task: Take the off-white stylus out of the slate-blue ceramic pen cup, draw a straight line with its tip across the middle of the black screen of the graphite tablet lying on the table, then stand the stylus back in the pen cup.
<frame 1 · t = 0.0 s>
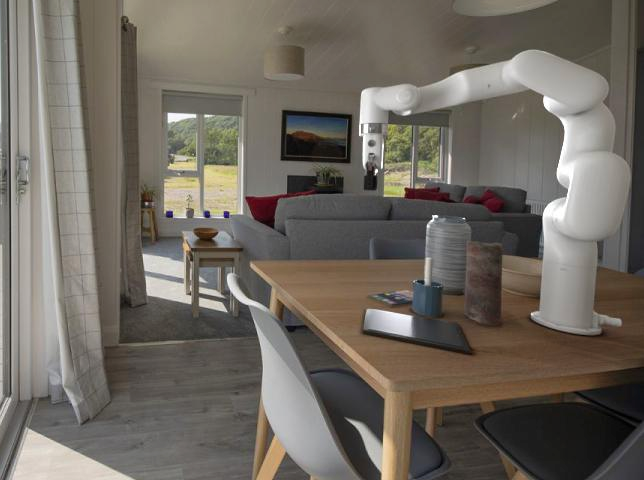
hand: (370, 189, 115), 31 cm above the table, tool pointing down, fingers open, 9 cm apart
smartphone: (399, 300, 112), on the table
candle: (481, 321, 98), on the table
tablet: (411, 330, 91), on the table
pen cup: (426, 313, 102), on the table
stylus: (426, 311, 102), resting on pen cup
vase: (444, 290, 123), on the table
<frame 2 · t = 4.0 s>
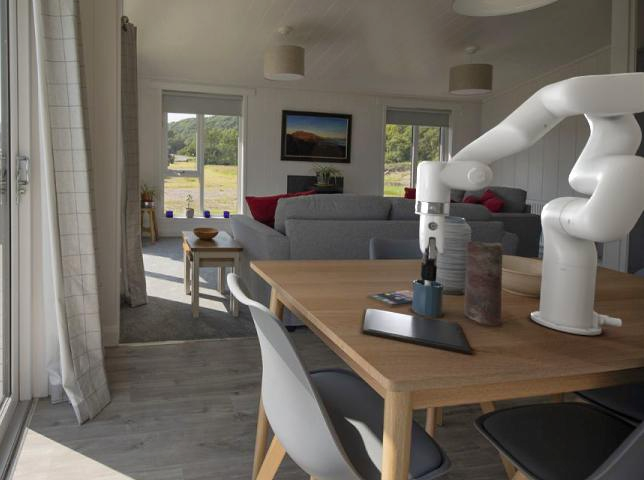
hand: (428, 279, 102), 9 cm above the table, tool pointing down, fingers closed on stylus, 1 cm apart
stylus: (426, 311, 102), point 1 cm above the table, touching gripper, pen cup
everything else where it was.
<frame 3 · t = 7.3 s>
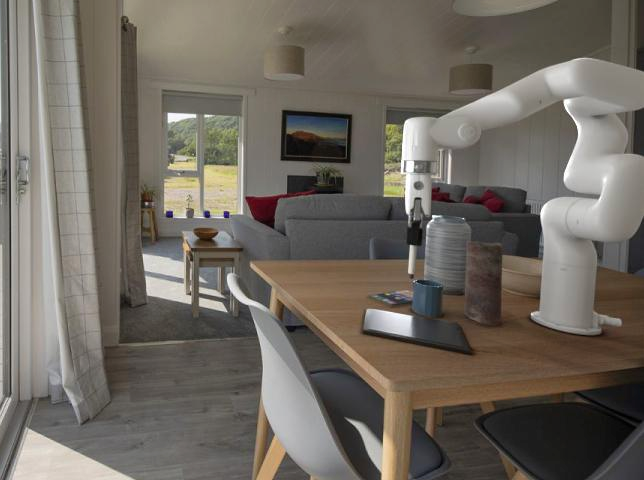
hand: (413, 244, 95), 19 cm above the table, tool pointing down, fingers closed on stylus, 1 cm apart
stylus: (411, 278, 96), point 11 cm above the table, touching gripper
everything else where it was.
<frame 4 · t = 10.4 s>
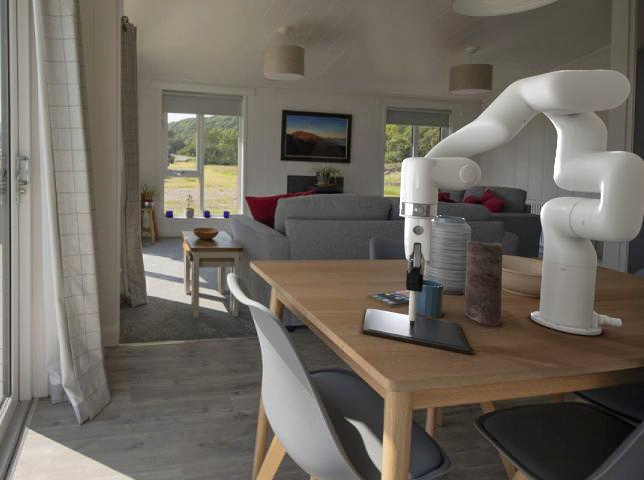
hand: (413, 289, 91), 9 cm above the table, tool pointing down, fingers closed on stylus, 1 cm apart
stylus: (411, 324, 91), point 1 cm above the table, touching gripper
everything else where it was.
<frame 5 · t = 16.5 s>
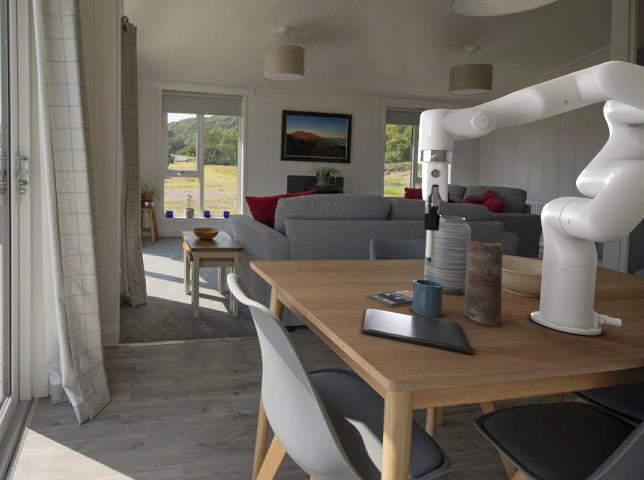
hand: (431, 229, 101), 22 cm above the table, tool pointing down, fingers closed on stylus, 1 cm apart
stylus: (429, 261, 101), point 14 cm above the table, touching gripper
everything else where it was.
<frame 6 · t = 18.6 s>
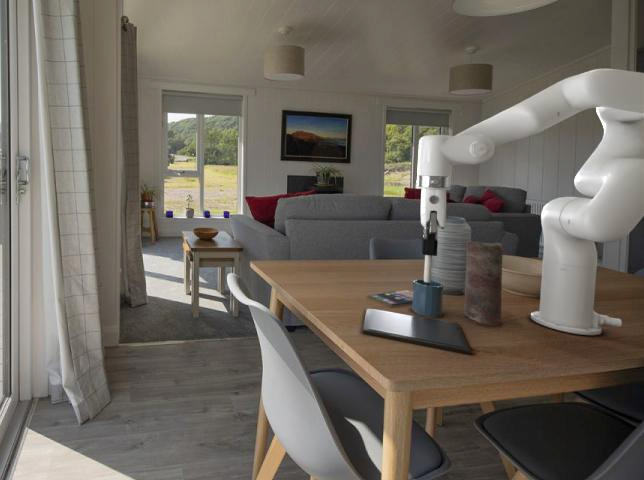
hand: (429, 253, 101), 16 cm above the table, tool pointing down, fingers closed on stylus, 1 cm apart
stylus: (426, 286, 102), point 7 cm above the table, touching gripper
everything else where it was.
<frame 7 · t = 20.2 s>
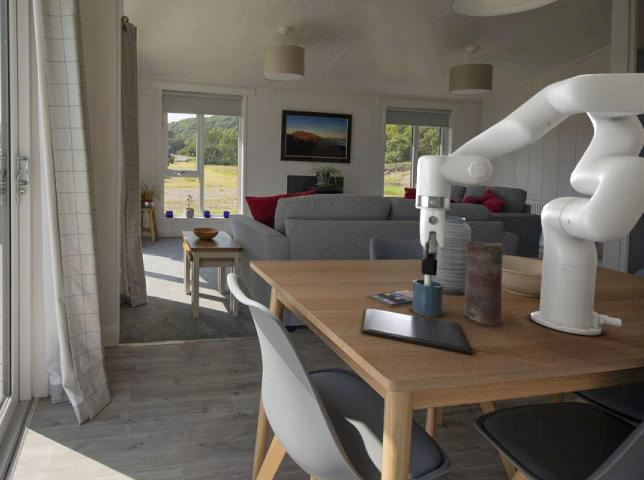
hand: (428, 273, 101), 11 cm above the table, tool pointing down, fingers closed on stylus, 1 cm apart
stylus: (426, 305, 102), point 2 cm above the table, touching gripper
everything else where it was.
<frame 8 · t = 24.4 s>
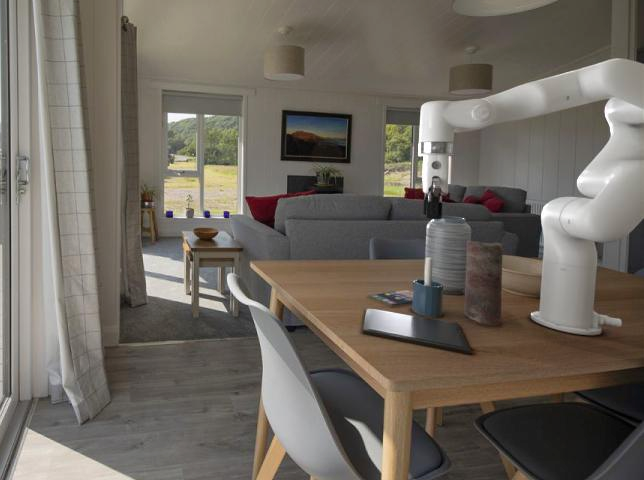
hand: (431, 216, 101), 25 cm above the table, tool pointing down, fingers open, 9 cm apart
stylus: (426, 311, 102), resting on pen cup
everything else where it was.
at the end: stylus 0.0 cm off-centre in the pen cup, point 0.5 cm above the pen cup's base; the gripper is holding nothing; stylus tilted 0° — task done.
